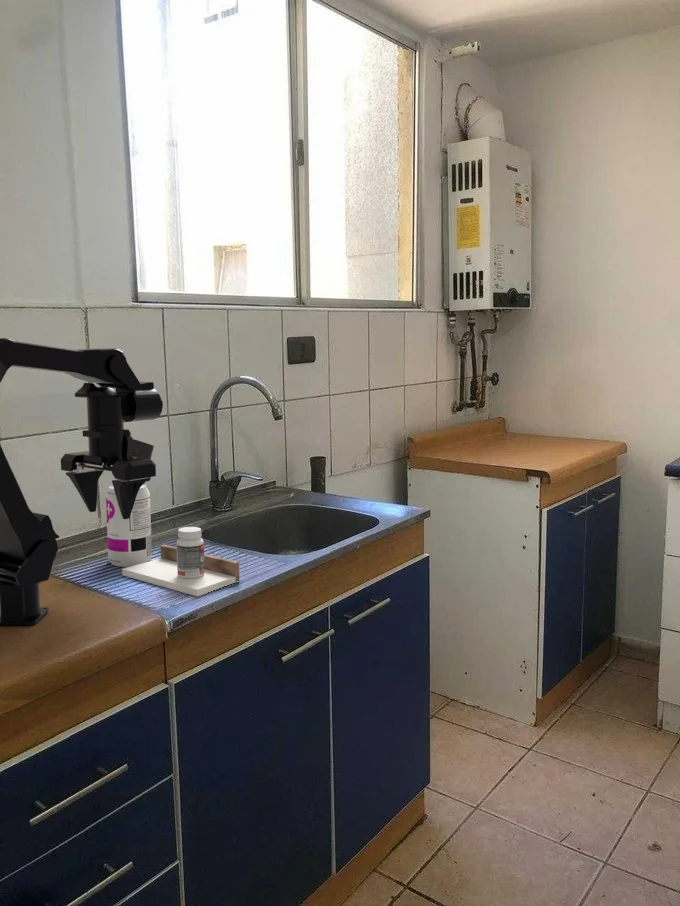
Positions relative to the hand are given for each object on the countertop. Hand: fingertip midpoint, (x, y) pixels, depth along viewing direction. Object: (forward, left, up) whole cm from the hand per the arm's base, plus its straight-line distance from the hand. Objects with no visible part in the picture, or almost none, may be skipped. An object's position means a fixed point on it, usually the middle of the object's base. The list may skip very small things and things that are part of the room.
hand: (109, 515), depth 124 cm
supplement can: (+17, +1, -13) cm, 22 cm away
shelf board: (+6, -11, -13) cm, 18 cm away
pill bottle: (+4, -13, -12) cm, 18 cm away
